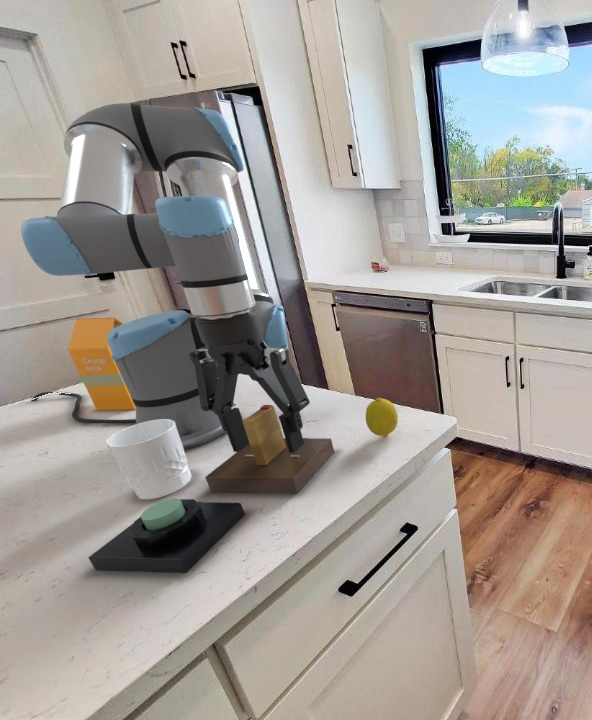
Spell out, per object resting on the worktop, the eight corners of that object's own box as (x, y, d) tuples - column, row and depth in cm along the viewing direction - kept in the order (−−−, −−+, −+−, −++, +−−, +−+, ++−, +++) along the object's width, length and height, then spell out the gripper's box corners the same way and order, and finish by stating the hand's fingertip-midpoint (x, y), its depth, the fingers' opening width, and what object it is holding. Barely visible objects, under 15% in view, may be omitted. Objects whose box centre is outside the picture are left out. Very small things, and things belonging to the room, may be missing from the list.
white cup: (158, 472, 70) (135, 420, 66) (207, 469, 71) (187, 417, 67) (118, 504, 63) (89, 448, 59) (173, 500, 63) (148, 444, 60)
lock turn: (266, 465, 66) (251, 419, 63) (256, 465, 66) (241, 419, 63) (286, 447, 70) (273, 404, 67) (277, 447, 71) (264, 404, 67)
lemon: (391, 445, 75) (383, 406, 73) (363, 443, 77) (355, 404, 74) (406, 429, 80) (399, 392, 78) (380, 427, 82) (373, 390, 79)
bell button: (137, 530, 53) (131, 519, 52) (165, 508, 56) (160, 498, 56) (167, 531, 52) (161, 520, 52) (193, 508, 56) (189, 498, 55)
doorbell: (95, 570, 51) (81, 546, 50) (167, 513, 61) (157, 490, 59) (186, 573, 51) (175, 548, 49) (245, 514, 60) (237, 492, 58)
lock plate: (211, 492, 65) (204, 476, 63) (259, 452, 75) (254, 437, 74) (297, 494, 64) (292, 477, 63) (334, 452, 74) (330, 437, 73)
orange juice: (134, 409, 92) (96, 322, 85) (95, 410, 92) (54, 324, 85) (164, 394, 99) (131, 312, 92) (128, 394, 100) (93, 313, 92)
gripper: (313, 304, 62) (344, 435, 70) (179, 306, 64) (225, 434, 72) (280, 319, 55) (319, 462, 63) (131, 320, 57) (188, 460, 65)
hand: (269, 447), depth 68 cm, fingers open, 9 cm apart
